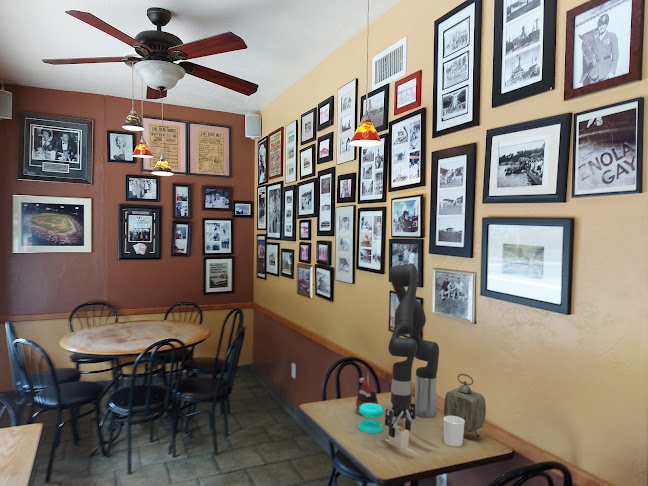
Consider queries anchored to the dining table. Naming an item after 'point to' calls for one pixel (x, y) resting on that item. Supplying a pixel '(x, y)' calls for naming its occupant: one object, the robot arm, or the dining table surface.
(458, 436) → the white cup
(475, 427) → the tabletop clock
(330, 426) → the dining table surface
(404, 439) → the white block
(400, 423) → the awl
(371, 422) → the donuts
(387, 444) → the board
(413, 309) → the robot arm
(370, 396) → the cake
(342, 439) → the dining table surface
